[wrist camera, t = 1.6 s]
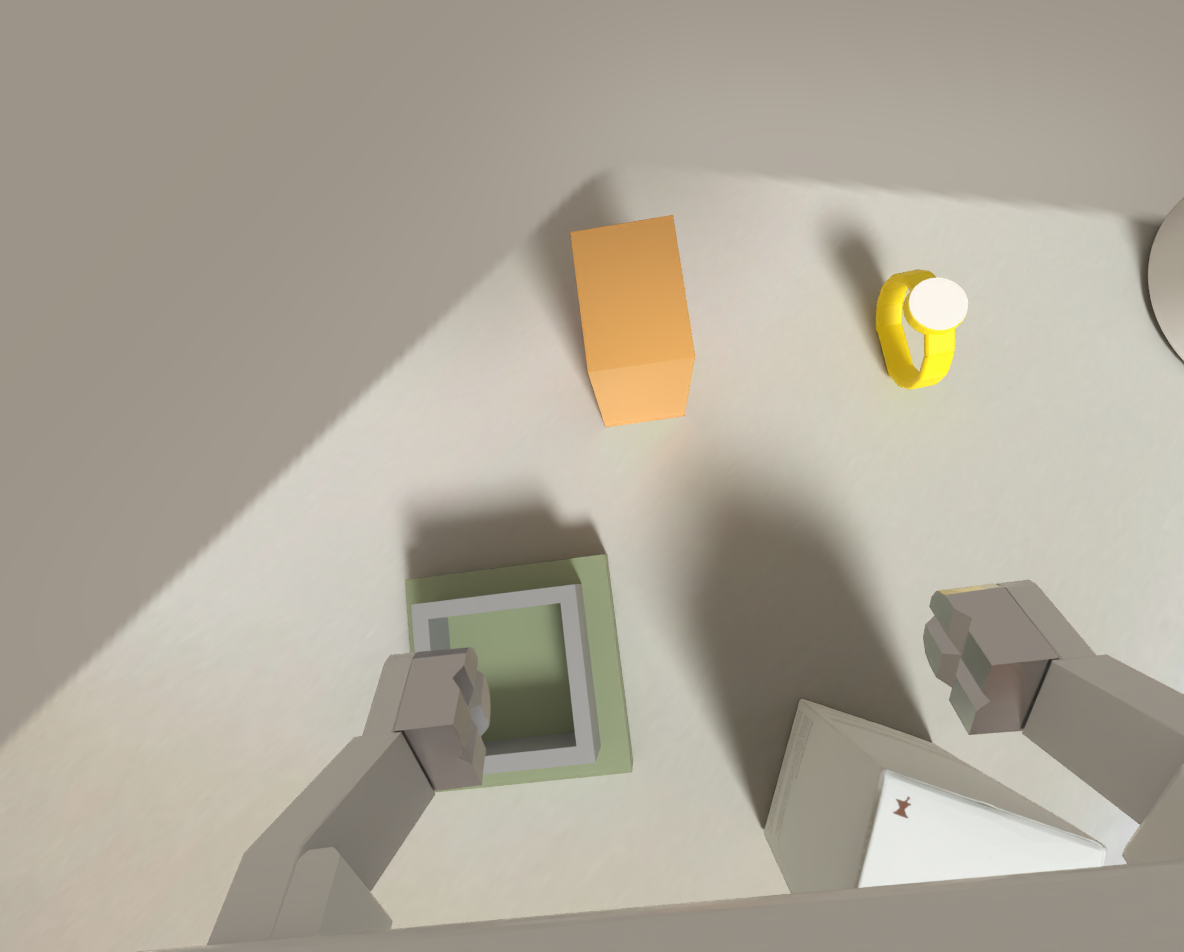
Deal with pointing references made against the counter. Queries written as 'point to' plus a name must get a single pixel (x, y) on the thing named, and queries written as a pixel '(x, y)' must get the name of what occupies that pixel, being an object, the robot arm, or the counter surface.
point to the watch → (919, 325)
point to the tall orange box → (634, 319)
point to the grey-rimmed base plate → (535, 664)
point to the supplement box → (902, 812)
